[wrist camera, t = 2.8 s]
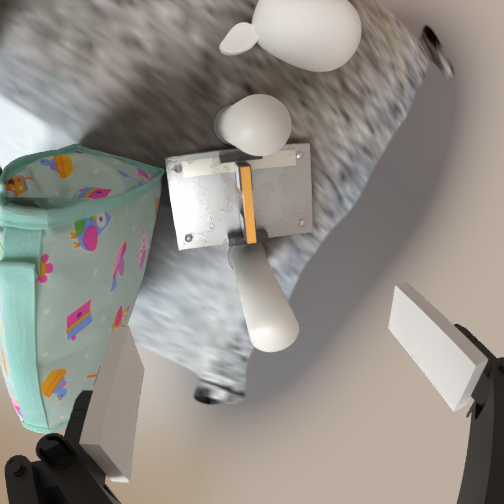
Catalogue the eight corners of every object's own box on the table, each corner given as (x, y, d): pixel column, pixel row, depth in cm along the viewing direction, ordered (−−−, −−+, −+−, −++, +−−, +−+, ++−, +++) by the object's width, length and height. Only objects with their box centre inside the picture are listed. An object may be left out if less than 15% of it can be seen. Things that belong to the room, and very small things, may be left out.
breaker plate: (179, 244, 43) (178, 256, 39) (166, 156, 38) (162, 160, 34) (308, 227, 45) (317, 237, 41) (304, 142, 40) (315, 144, 36)
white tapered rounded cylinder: (230, 275, 46) (248, 359, 29) (225, 240, 44) (242, 313, 27) (267, 269, 46) (302, 349, 30) (264, 235, 44) (303, 303, 28)
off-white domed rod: (215, 147, 39) (226, 165, 22) (211, 106, 36) (218, 91, 20) (257, 143, 39) (299, 158, 23) (254, 102, 37) (294, 87, 21)
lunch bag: (66, 133, 34) (-83, 165, 10) (178, 165, 39) (141, 238, 14) (41, 281, 41) (-43, 406, 17) (136, 312, 46) (104, 467, 21)
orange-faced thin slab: (241, 231, 41) (246, 244, 37) (234, 163, 37) (238, 167, 33) (252, 230, 41) (258, 242, 37) (246, 161, 37) (251, 166, 33)
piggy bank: (340, 35, 36) (237, 4, 33) (378, -9, 24) (250, -52, 22) (329, 105, 36) (213, 72, 34) (374, 67, 25) (220, 18, 22)
